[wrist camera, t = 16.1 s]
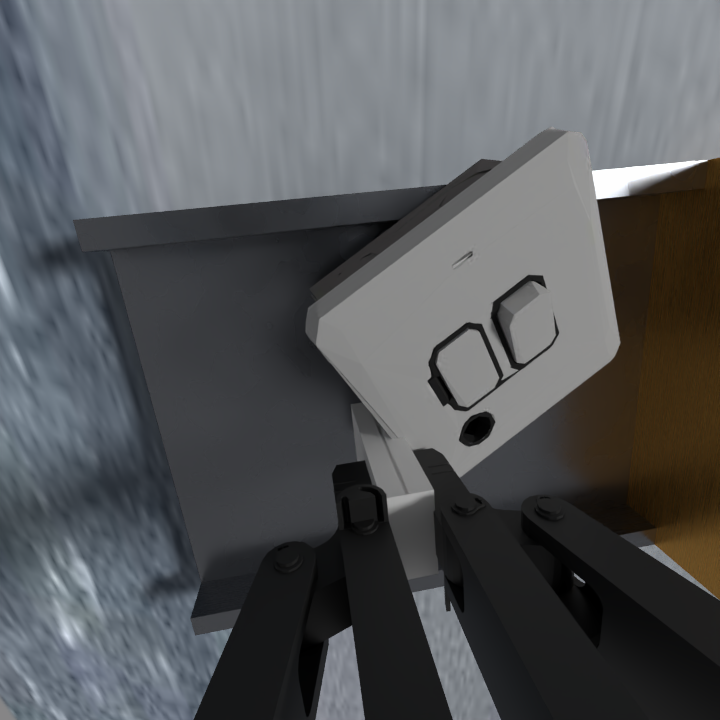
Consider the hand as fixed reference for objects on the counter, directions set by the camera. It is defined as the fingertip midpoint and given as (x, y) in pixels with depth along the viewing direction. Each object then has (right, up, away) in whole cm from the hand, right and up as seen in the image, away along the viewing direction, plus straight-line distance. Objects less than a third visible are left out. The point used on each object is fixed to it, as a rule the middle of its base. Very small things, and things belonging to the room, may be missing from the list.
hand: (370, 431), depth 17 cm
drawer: (+2, +2, +3) cm, 4 cm away
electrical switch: (+5, +3, +2) cm, 6 cm away
